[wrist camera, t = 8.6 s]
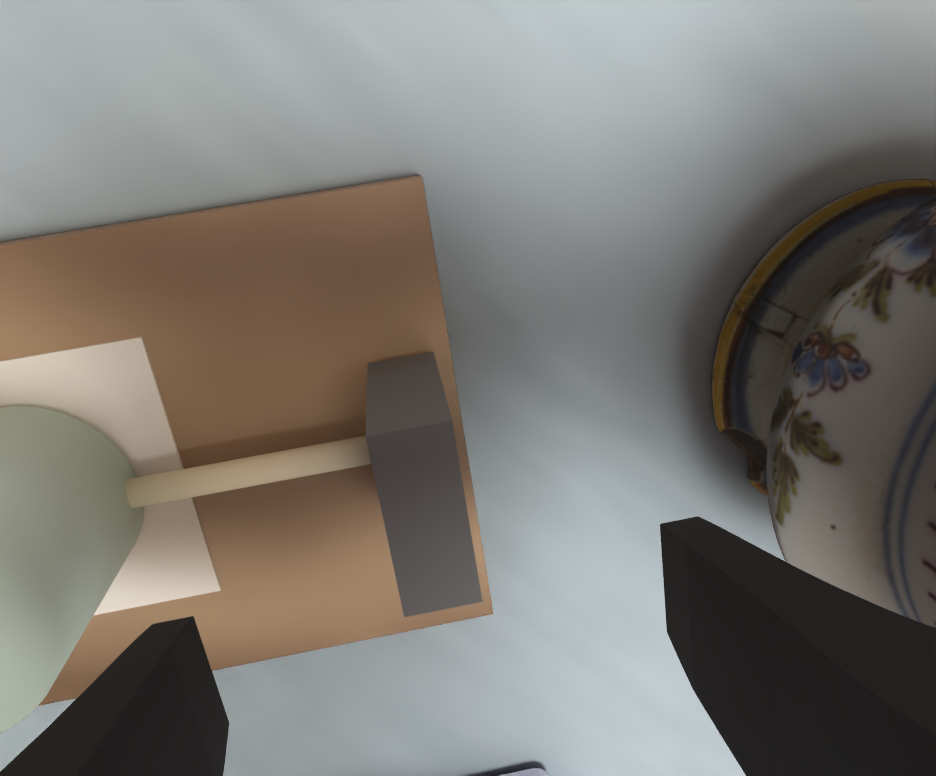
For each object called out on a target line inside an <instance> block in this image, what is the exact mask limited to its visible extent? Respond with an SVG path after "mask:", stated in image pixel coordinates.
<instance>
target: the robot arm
mask: <svg viewBox="0 0 936 776" xmlns="http://www.w3.org/2000/svg"><path fill="white" fill-rule="evenodd" d="M660 531H661V546H662V562H663V577H664V593H665V608H666V623H667V633H668V635H669V638H670V640H671V642H672V644H673V647H674V649H675V651H676V653H677V656H678V658H679V660H680V662H681V665H682V667H683V669H684V671H685V673H686V675H687V677H688V679H689V681H690V684H691V686H692V688H693V690H694V692H695V693H696V695H697V697H698V698H699V700H700V702H701V703H702V705H703V707H704V708H705V710H706V712H707V713H708V715H709V716H710V718H711V720H712V721H713V723H714V725H715V726H716V728H717V729H718V731H719V733H720V734H721V736H722V738H723V739H724V741H725V742H726V744H727V746H728V747H729V749H730V750H731V752H732V754H733V755H734V757H735V758H736V760H737V762H738V763H739V765H740V766H741V768H742V770H743V771H744V773H745V775H746V776H936V628H934V627H932V626H929V625H926V624H923V623H921V622H918V621H915V620H913V619H910V618H907V617H905V616H902V615H900V614H897V613H895V612H892V611H890V610H888V609H885V608H883V607H880V606H878V605H876V604H874V603H871V602H869V601H867V600H865V599H862V598H860V597H858V596H856V595H853V594H851V593H849V592H847V591H844V590H842V589H840V588H838V587H836V586H834V585H831V584H829V583H827V582H825V581H823V580H821V579H819V578H817V577H815V576H813V575H811V574H809V573H807V572H805V571H803V570H801V569H799V568H797V567H795V566H793V565H791V564H789V563H787V562H785V561H783V560H781V559H779V558H777V557H775V556H773V555H771V554H770V553H768V552H766V551H764V550H762V549H760V548H758V547H756V546H754V545H753V544H751V543H749V542H747V541H745V540H743V539H741V538H739V537H738V536H736V535H734V534H732V533H730V532H728V531H726V530H724V529H722V528H720V527H719V526H717V525H715V524H713V523H711V522H709V521H706V520H704V519H702V518H700V517H693V518H688V519H683V520H678V521H673V522H668V523H663V524H660ZM228 728H229V721H228V718H227V715H226V712H225V709H224V706H223V703H222V700H221V697H220V694H219V691H218V688H217V685H216V682H215V679H214V676H213V673H212V670H211V667H210V664H209V661H208V658H207V655H206V652H205V649H204V646H203V643H202V640H201V637H200V634H199V631H198V628H197V625H196V622H195V619H194V616H190V617H185V618H180V619H175V620H170V621H165V622H160V623H155V624H152V625H151V626H150V627H148V628H147V629H146V630H145V631H144V632H143V633H142V634H141V635H140V636H139V637H137V638H136V639H135V640H134V641H133V642H132V643H131V644H130V645H129V646H128V647H127V648H126V649H125V650H124V651H123V652H122V653H121V654H120V655H119V656H118V657H117V658H116V659H115V660H114V661H113V662H112V663H111V664H110V665H109V666H108V667H107V668H106V669H105V671H104V672H103V673H102V674H101V675H100V676H99V677H98V678H97V679H96V680H95V681H94V682H93V683H92V684H91V685H90V686H89V687H88V688H87V689H86V690H85V691H84V692H83V693H82V694H81V695H80V696H79V697H78V698H77V699H76V700H75V701H74V702H73V703H72V704H71V705H70V706H69V707H68V708H67V709H66V710H65V711H64V712H63V713H62V714H61V715H60V716H59V717H58V718H57V719H56V720H55V721H54V722H53V723H52V724H51V725H50V726H49V727H48V728H47V729H46V730H45V731H44V732H42V733H41V734H40V735H39V736H38V737H37V738H36V739H35V740H34V741H33V742H32V743H31V744H30V745H29V746H27V747H26V748H25V749H24V750H23V751H22V752H21V753H20V754H19V755H18V756H17V757H16V758H15V759H14V760H13V761H11V762H10V763H9V764H8V765H7V766H6V767H5V768H4V769H3V770H2V771H1V772H0V776H223V770H224V763H225V755H226V746H227V737H228ZM499 776H548V774H547V772H546V771H544V770H543V769H539V768H532V769H527V770H522V771H518V772H513V773H508V774H504V775H499Z"/></svg>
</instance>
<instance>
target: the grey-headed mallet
mask: <svg viewBox="0 0 936 776" xmlns="http://www.w3.org/2000/svg"><path fill="white" fill-rule="evenodd" d="M369 464H372V469H373V474H374V478H375V483H376V488H377V492H378V497H379V502H380V507H381V511H382V516H383V521H384V525H385V530H386V535H387V539H388V544H389V549H390V553H391V558H392V563H393V567H394V572H395V577H396V581H397V586H398V591H399V595H400V600H401V605H402V610H403V614H404V617H409V616H414V615H419V614H424V613H429V612H434V611H439V610H444V609H449V608H454V607H459V606H464V605H469V604H474V603H479V602H483V601H482V595H481V589H480V583H479V577H478V571H477V565H476V559H475V553H474V547H473V541H472V535H471V529H470V523H469V517H468V511H467V505H466V499H465V493H464V487H463V481H462V475H461V469H460V463H459V457H458V452H457V446H456V440H455V434H454V428H453V422H452V417H451V414H450V410H449V407H448V403H447V399H446V396H445V392H444V388H443V385H442V381H441V377H440V374H439V370H438V366H437V363H436V359H435V356H434V352H429V353H423V354H418V355H412V356H406V357H401V358H395V359H390V360H384V361H378V362H373V363H368V367H367V402H366V436H361V437H355V438H350V439H344V440H339V441H334V442H328V443H323V444H317V445H312V446H306V447H301V448H295V449H290V450H284V451H279V452H274V453H268V454H263V455H257V456H252V457H246V458H241V459H235V460H230V461H225V462H219V463H214V464H208V465H203V466H197V467H192V468H186V469H181V470H176V471H170V472H165V473H159V474H154V475H148V476H143V477H137V478H136V475H135V473H134V471H133V469H132V468H131V466H130V464H129V463H128V461H127V460H126V458H125V457H124V456H123V454H122V453H121V452H120V451H119V449H118V448H117V447H116V446H115V445H114V444H113V443H112V442H111V441H110V440H108V439H107V438H106V437H105V436H103V435H102V434H101V433H100V432H98V431H97V430H95V429H94V428H92V427H90V426H89V425H87V424H86V423H84V422H82V421H80V420H77V419H75V418H73V417H71V416H68V415H65V414H62V413H60V412H57V411H52V410H48V409H44V408H37V407H28V406H9V407H0V733H2V732H4V731H5V730H7V729H9V728H11V727H13V726H14V725H16V724H17V723H19V722H20V721H22V720H23V719H24V718H26V717H27V716H28V715H29V714H30V713H31V712H32V711H33V710H35V709H36V708H37V707H38V705H39V704H40V703H41V702H42V700H43V699H44V698H45V697H46V695H47V694H48V692H49V690H50V689H51V687H52V685H53V684H54V682H55V680H56V678H57V677H58V675H59V673H60V672H61V670H62V668H63V666H64V665H65V663H66V661H67V660H68V658H69V656H70V654H71V653H72V651H73V649H74V648H75V646H76V644H77V643H78V641H79V639H80V637H81V636H82V634H83V632H84V631H85V629H86V627H87V625H88V624H89V622H90V620H91V619H92V617H93V615H94V613H95V612H96V610H97V608H98V607H99V605H100V603H101V602H102V600H103V598H104V596H105V595H106V593H107V591H108V590H109V588H110V586H111V584H112V583H113V581H114V579H115V578H116V576H117V574H118V572H119V571H120V569H121V567H122V566H123V564H124V562H125V561H126V559H127V557H128V555H129V554H130V552H131V550H132V548H133V547H134V545H135V543H136V541H137V539H138V536H139V534H140V531H141V526H142V522H143V506H149V505H154V504H159V503H165V502H170V501H175V500H181V499H186V498H192V497H197V496H202V495H208V494H213V493H218V492H224V491H229V490H235V489H240V488H245V487H251V486H256V485H261V484H267V483H272V482H277V481H283V480H288V479H294V478H299V477H304V476H310V475H315V474H320V473H326V472H331V471H337V470H342V469H347V468H353V467H358V466H363V465H369Z"/></svg>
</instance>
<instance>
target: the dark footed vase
mask: <svg viewBox="0 0 936 776" xmlns="http://www.w3.org/2000/svg"><path fill="white" fill-rule="evenodd" d="M711 388H712V403H713V410H714V416H715V421H716V425H717V429H718V430H719V432H720V433H724V434H726V435H727V436H728V437H729V438H730V439H731V440H732V441H733V442H734V443H735V444H736V445H738V446H739V447H740V448H742V449H743V450H744V451H745V452H746V454H747V455H748V458H749V470H748V479H749V481H750V483H751V484H753V485H754V486H755V487H756V488H757V489H759V490H760V491H761V492H763V493H764V494H766V495H767V496H768V500H769V507H770V513H771V518H772V523H773V527H774V531H775V534H776V538H777V541H778V544H779V546H780V549H781V551H782V554H783V556H784V559H785V561H786V562H787V563H789V564H791V565H793V566H795V567H797V568H799V569H801V570H803V571H805V572H807V573H809V574H811V575H813V576H815V577H817V578H819V579H821V580H823V581H825V582H827V583H829V584H831V585H834V586H836V587H838V588H840V589H842V590H844V591H847V592H849V593H851V594H853V595H856V596H858V597H860V598H862V599H865V600H867V601H869V602H871V603H874V604H876V605H878V606H880V607H883V608H885V609H888V610H890V611H892V612H895V613H897V614H900V615H902V616H905V617H907V618H910V619H913V620H915V621H918V622H921V623H923V624H926V625H929V626H932V627H934V628H936V181H930V180H924V179H907V180H896V181H890V182H884V183H879V184H875V185H872V186H868V187H865V188H862V189H859V190H856V191H854V192H851V193H849V194H847V195H844V196H842V197H840V198H838V199H836V200H834V201H832V202H830V203H828V204H826V205H825V206H823V207H821V208H820V209H818V210H816V211H815V212H813V213H812V214H810V215H808V216H807V217H806V218H804V219H803V220H802V221H800V222H799V223H798V224H796V225H795V226H794V227H793V228H792V229H790V230H789V231H788V232H787V233H786V234H785V235H784V236H782V237H781V238H780V239H779V240H778V241H777V242H776V243H775V244H774V245H773V246H772V247H771V248H770V249H769V251H768V252H767V253H766V254H765V255H764V256H763V257H762V259H761V260H760V261H759V262H758V264H757V265H756V266H755V267H754V269H753V270H752V271H751V273H750V274H749V276H748V277H747V278H746V280H745V281H744V283H743V284H742V286H741V288H740V290H739V292H738V293H737V294H736V295H735V297H734V299H733V302H732V305H731V307H730V309H729V311H728V313H727V316H726V318H725V321H724V323H723V326H722V329H721V332H720V335H719V338H718V342H717V345H716V350H715V354H714V361H713V369H712V387H711Z"/></svg>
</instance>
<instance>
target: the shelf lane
mask: <svg viewBox="0 0 936 776" xmlns="http://www.w3.org/2000/svg"><path fill="white" fill-rule="evenodd" d="M429 352H434V356H435V359H436V363H437V366H438V370H439V374H440V377H441V381H442V385H443V388H444V392H445V396H446V399H447V403H448V407H449V410H450V414H451V417H452V422H453V428H454V434H455V440H456V446H457V452H458V457H459V463H460V469H461V475H462V481H463V487H464V493H465V499H466V505H467V511H468V517H469V523H470V529H471V535H472V541H473V547H474V553H475V559H476V565H477V571H478V577H479V583H480V589H481V595H482V601H483V602H479V603H474V604H469V605H464V606H459V607H454V608H449V609H444V610H439V611H434V612H429V613H424V614H419V615H414V616H409V617H404V614H403V610H402V605H401V600H400V595H399V591H398V586H397V581H396V577H395V572H394V567H393V563H392V558H391V553H390V549H389V544H388V539H387V535H386V530H385V525H384V521H383V516H382V511H381V507H380V502H379V497H378V492H377V488H376V483H375V478H374V474H373V469H372V464H369V465H363V466H358V467H353V468H347V469H342V470H337V471H331V472H326V473H320V474H315V475H310V476H304V477H299V478H294V479H288V480H283V481H277V482H272V483H267V484H261V485H256V486H251V487H245V488H240V489H235V490H229V491H224V492H218V493H213V494H208V495H202V496H197V497H192V498H186V499H181V500H175V501H170V502H165V503H159V504H154V505H149V506H143V522H142V526H141V531H140V534H139V536H138V539H137V541H136V543H135V545H134V547H133V548H132V550H131V552H130V554H129V555H128V557H127V559H126V561H125V562H124V564H123V566H122V567H121V569H120V571H119V572H118V574H117V576H116V578H115V579H114V581H113V583H112V584H111V586H110V588H109V590H108V591H107V593H106V595H105V596H104V598H103V600H102V602H101V603H100V605H99V607H98V608H97V610H96V612H95V613H94V615H93V617H92V619H91V620H90V622H89V624H88V625H87V627H86V629H85V631H84V632H83V634H82V636H81V637H80V639H79V641H78V643H77V644H76V646H75V648H74V649H73V651H72V653H71V654H70V656H69V658H68V660H67V661H66V663H65V665H64V666H63V668H62V670H61V672H60V673H59V675H58V677H57V678H56V680H55V682H54V684H53V685H52V687H51V689H50V690H49V692H48V694H47V695H46V697H45V698H44V699H43V700H42V702H41V703H40V704H39V705H38V706H40V705H44V704H49V703H54V702H59V701H64V700H69V699H74V698H78V697H79V696H80V695H81V694H82V693H83V692H84V691H85V690H86V689H87V688H88V687H89V686H90V685H91V684H92V683H93V682H94V681H95V680H96V679H97V678H98V677H99V676H100V675H101V674H102V673H103V672H104V671H105V669H106V668H107V667H108V666H109V665H110V664H111V663H112V662H113V661H114V660H115V659H116V658H117V657H118V656H119V655H120V654H121V653H122V652H123V651H124V650H125V649H126V648H127V647H128V646H129V645H130V644H131V643H132V642H133V641H134V640H135V639H136V638H137V637H139V636H140V635H141V634H142V633H143V632H144V631H145V630H146V629H147V628H148V627H150V626H151V625H152V624H155V623H160V622H165V621H170V620H175V619H180V618H185V617H190V616H194V619H195V622H196V625H197V628H198V631H199V634H200V637H201V640H202V643H203V646H204V649H205V652H206V655H207V658H208V661H209V664H210V667H211V670H212V671H213V670H218V669H223V668H228V667H233V666H238V665H243V664H247V663H252V662H257V661H262V660H267V659H272V658H277V657H282V656H287V655H292V654H297V653H302V652H307V651H312V650H317V649H322V648H327V647H332V646H337V645H342V644H347V643H351V642H356V641H361V640H366V639H371V638H376V637H381V636H386V635H391V634H396V633H401V632H406V631H411V630H416V629H421V628H426V627H431V626H436V625H441V624H446V623H450V622H455V621H460V620H465V619H470V618H475V617H480V616H485V615H490V614H493V610H492V604H491V597H490V591H489V585H488V579H487V573H486V567H485V560H484V554H483V548H482V542H481V536H480V530H479V523H478V517H477V511H476V505H475V499H474V493H473V487H472V480H471V474H470V468H469V462H468V456H467V450H466V443H465V437H464V431H463V425H462V419H461V413H460V406H459V400H458V394H457V388H456V382H455V376H454V370H453V363H452V357H451V351H450V345H449V339H448V333H447V326H446V320H445V314H444V308H443V302H442V296H441V289H440V283H439V277H438V271H437V265H436V259H435V253H434V246H433V240H432V234H431V228H430V222H429V216H428V209H427V203H426V197H425V191H424V185H423V179H422V177H421V176H420V175H415V176H409V177H403V178H397V179H391V180H384V181H378V182H372V183H366V184H359V185H353V186H347V187H341V188H335V189H328V190H322V191H316V192H310V193H303V194H297V195H291V196H285V197H279V198H272V199H266V200H260V201H254V202H247V203H241V204H235V205H229V206H223V207H216V208H210V209H204V210H198V211H191V212H185V213H179V214H173V215H167V216H160V217H154V218H148V219H142V220H135V221H129V222H123V223H117V224H111V225H104V226H98V227H92V228H86V229H80V230H73V231H67V232H61V233H55V234H48V235H42V236H36V237H30V238H24V239H17V240H11V241H5V242H0V407H9V406H28V407H37V408H44V409H48V410H52V411H57V412H60V413H62V414H65V415H68V416H71V417H73V418H75V419H77V420H80V421H82V422H84V423H86V424H87V425H89V426H90V427H92V428H94V429H95V430H97V431H98V432H100V433H101V434H102V435H103V436H105V437H106V438H107V439H108V440H110V441H111V442H112V443H113V444H114V445H115V446H116V447H117V448H118V449H119V451H120V452H121V453H122V454H123V456H124V457H125V458H126V460H127V461H128V463H129V464H130V466H131V468H132V469H133V471H134V473H135V475H136V478H137V477H143V476H148V475H154V474H159V473H165V472H170V471H176V470H181V469H186V468H192V467H197V466H203V465H208V464H214V463H219V462H225V461H230V460H235V459H241V458H246V457H252V456H257V455H263V454H268V453H274V452H279V451H284V450H290V449H295V448H301V447H306V446H312V445H317V444H323V443H328V442H334V441H339V440H344V439H350V438H355V437H361V436H366V402H367V367H368V363H373V362H378V361H384V360H390V359H395V358H401V357H406V356H412V355H418V354H423V353H429Z"/></svg>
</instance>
